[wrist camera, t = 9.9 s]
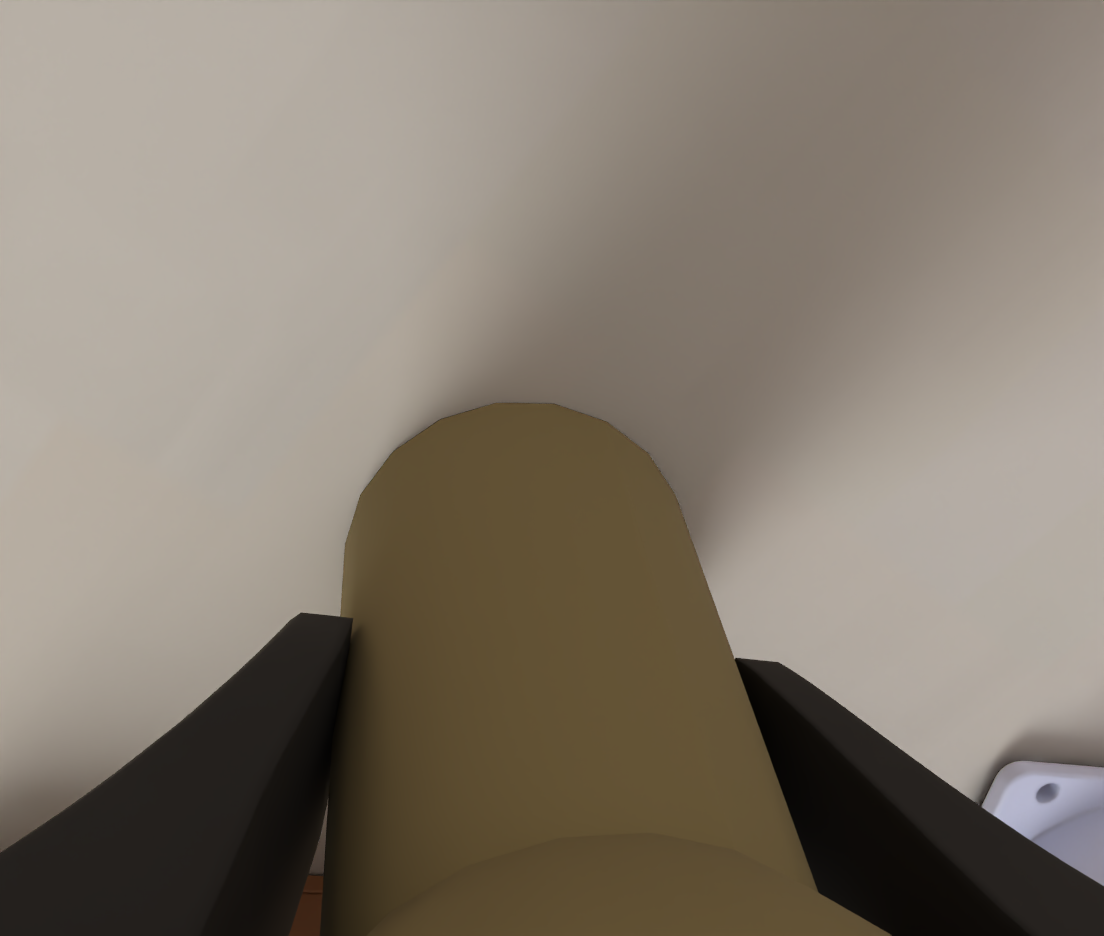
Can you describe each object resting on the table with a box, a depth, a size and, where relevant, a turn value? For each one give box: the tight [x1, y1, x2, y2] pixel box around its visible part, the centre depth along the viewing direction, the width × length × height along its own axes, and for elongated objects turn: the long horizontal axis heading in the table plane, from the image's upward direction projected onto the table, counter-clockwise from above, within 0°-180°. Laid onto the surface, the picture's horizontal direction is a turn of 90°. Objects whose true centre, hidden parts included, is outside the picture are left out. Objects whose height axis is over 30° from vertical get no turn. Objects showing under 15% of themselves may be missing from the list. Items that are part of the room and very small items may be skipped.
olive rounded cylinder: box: [320, 403, 892, 936], centre depth 8 cm, size 6×6×11 cm
